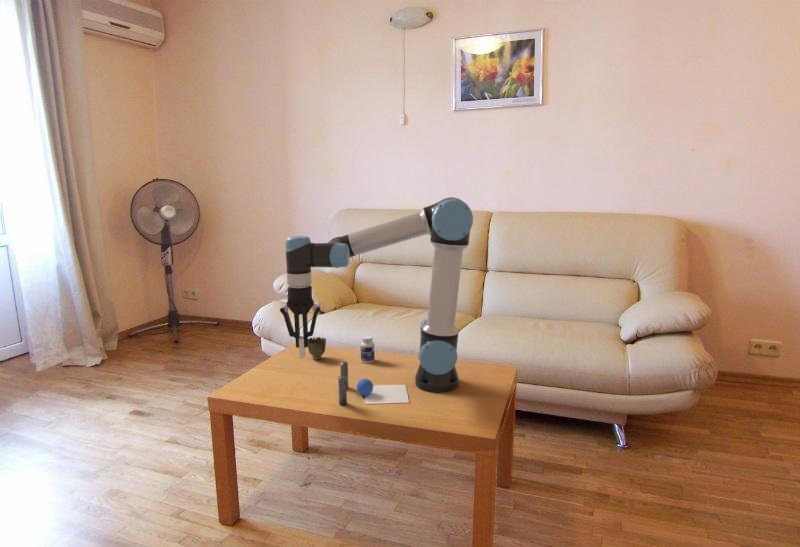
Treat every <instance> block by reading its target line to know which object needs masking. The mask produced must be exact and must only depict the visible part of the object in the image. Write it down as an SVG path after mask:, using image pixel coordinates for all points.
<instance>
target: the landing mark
mask: <svg viewBox="0 0 800 547" xmlns="http://www.w3.org/2000/svg"><path fill="white" fill-rule="evenodd" d="M409 403H410V401H409V396H408V389H407V385H406V384H388V385H387V384H384V385H383V384H382V385H381V384H379V385H373V391H372V392H371V393H370V394H369V395H367V396H364V405H384V404H409Z"/></svg>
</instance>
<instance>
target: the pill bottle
mask: <svg viewBox="0 0 800 547" xmlns="http://www.w3.org/2000/svg"><path fill="white" fill-rule="evenodd" d="M361 338H362V339H361V340H362V342H361V343H360V362H362V363H363V364H371V362H372V363H373V362H375V342H374V341H373V339H374V338H373V336H371V335H364V336H362V337H361Z"/></svg>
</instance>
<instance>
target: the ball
mask: <svg viewBox="0 0 800 547" xmlns="http://www.w3.org/2000/svg"><path fill="white" fill-rule="evenodd" d="M373 386H374V383H373V382H372V381H371V380H370V379H368V378H362V379H360V380H358V382H357V384H356V391H357V393H358V394H359V395H361V396H364V397H365V396H367V395H369V394H370V393H371V392H372V391H373Z"/></svg>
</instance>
